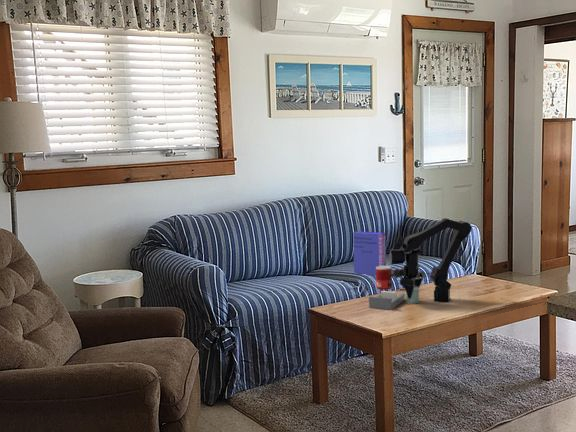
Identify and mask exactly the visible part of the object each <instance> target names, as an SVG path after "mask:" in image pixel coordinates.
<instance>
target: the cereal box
mask: <svg viewBox="0 0 576 432" xmlns="http://www.w3.org/2000/svg"><path fill="white" fill-rule="evenodd" d="M352 235H353V236H352V239H353V272H354V273H357V274H356V275H361V274H366V275H365V276H373V277H376V267H377V266H387V262H386V261H387V258H386V257H387V256H386V255H387V254H386V252H387V251H386V250H387V249H386V232H378V231H377V232H374V231H359V230H358V231H354V232H353V233H352Z"/></svg>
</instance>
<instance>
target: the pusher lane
mask: <svg viewBox="0 0 576 432" xmlns="http://www.w3.org/2000/svg"><path fill="white" fill-rule="evenodd" d="M403 301H406V295H405V293H401V294H399V295H397V298H395V299H394V300H392V298H382V297H381V293H380V294H379V295H377V296H369V297H368V308H370V309H378V310H389V311H391V310H393V309H394V308H395V307H397V306H398V305H399V304H401V303H402V302H403Z"/></svg>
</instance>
